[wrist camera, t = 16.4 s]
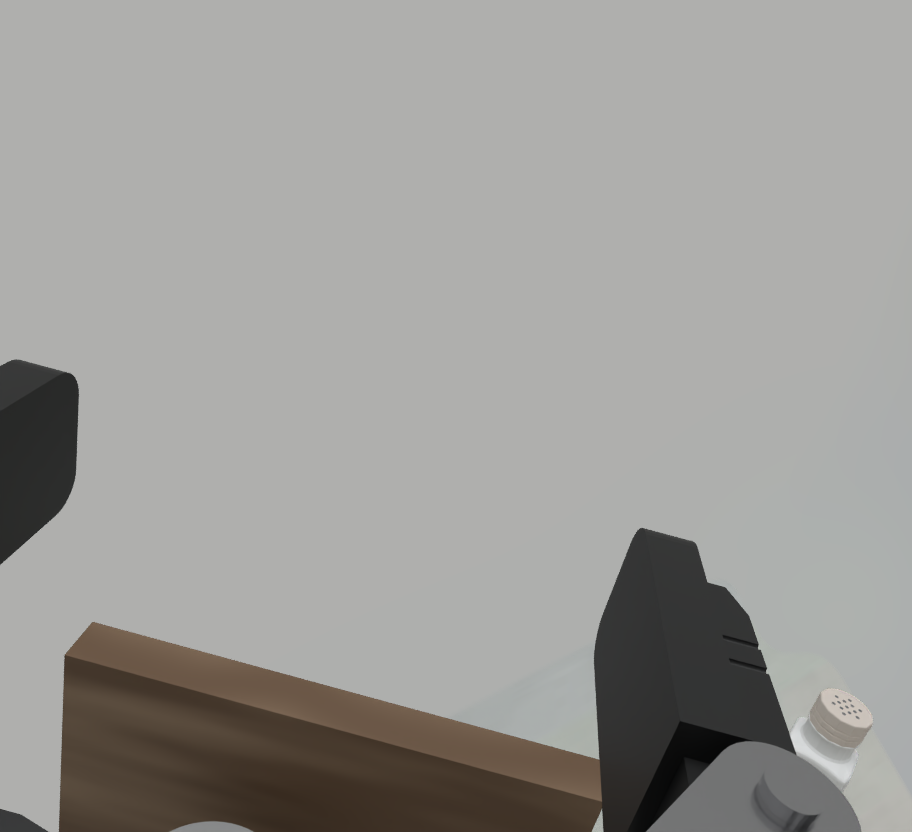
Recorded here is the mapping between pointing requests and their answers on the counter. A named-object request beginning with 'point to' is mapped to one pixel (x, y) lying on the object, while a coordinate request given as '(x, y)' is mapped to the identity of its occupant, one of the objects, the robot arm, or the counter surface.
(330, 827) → the board
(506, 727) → the counter surface
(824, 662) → the counter surface
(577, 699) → the counter surface
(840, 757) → the pepper shaker
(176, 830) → the container
